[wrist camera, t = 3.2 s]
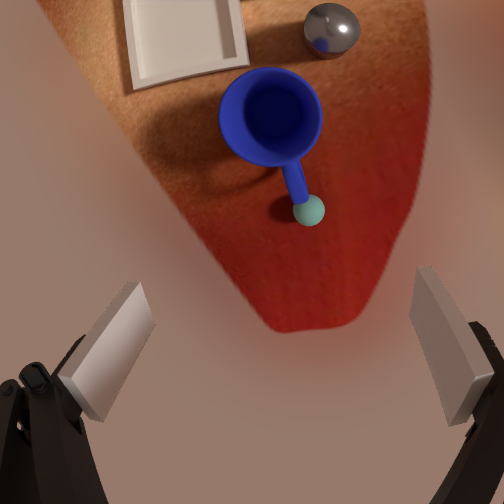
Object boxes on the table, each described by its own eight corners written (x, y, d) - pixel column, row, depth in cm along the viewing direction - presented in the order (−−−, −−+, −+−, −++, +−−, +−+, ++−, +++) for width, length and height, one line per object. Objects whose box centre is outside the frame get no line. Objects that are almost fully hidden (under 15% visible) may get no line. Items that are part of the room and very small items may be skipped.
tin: (299, 19, 26) (300, 4, 21) (345, 18, 26) (355, 3, 20) (306, 60, 29) (309, 52, 23) (352, 59, 28) (363, 51, 22)
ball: (291, 191, 36) (291, 201, 32) (322, 189, 35) (324, 198, 32) (294, 220, 37) (294, 232, 34) (323, 218, 36) (326, 229, 33)
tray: (128, -26, 24) (120, -30, 23) (230, -56, 22) (227, -63, 20) (141, 89, 32) (133, 89, 30) (250, 66, 30) (247, 64, 28)
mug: (266, 190, 36) (256, 222, 27) (227, 92, 31) (202, 89, 22) (335, 169, 34) (349, 194, 25) (299, 67, 29) (301, 53, 20)
